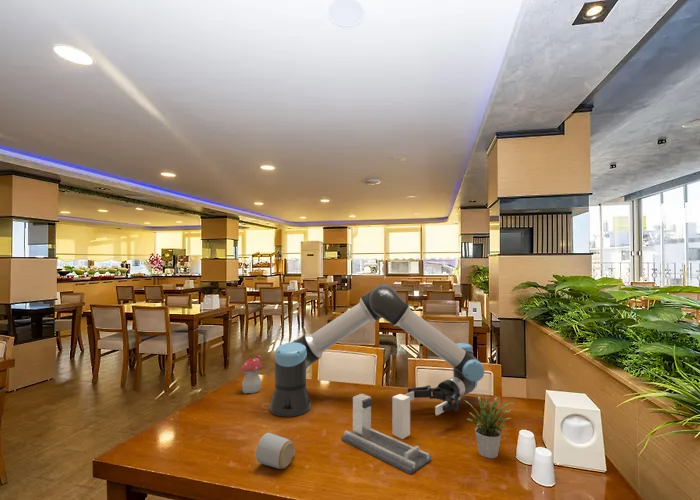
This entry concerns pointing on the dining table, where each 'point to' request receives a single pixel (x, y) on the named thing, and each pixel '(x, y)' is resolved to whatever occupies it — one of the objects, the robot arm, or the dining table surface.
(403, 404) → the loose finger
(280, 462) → the grey cylinder on side
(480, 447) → the house plant
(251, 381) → the decorative ornament
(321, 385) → the dining table surface
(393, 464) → the rail
